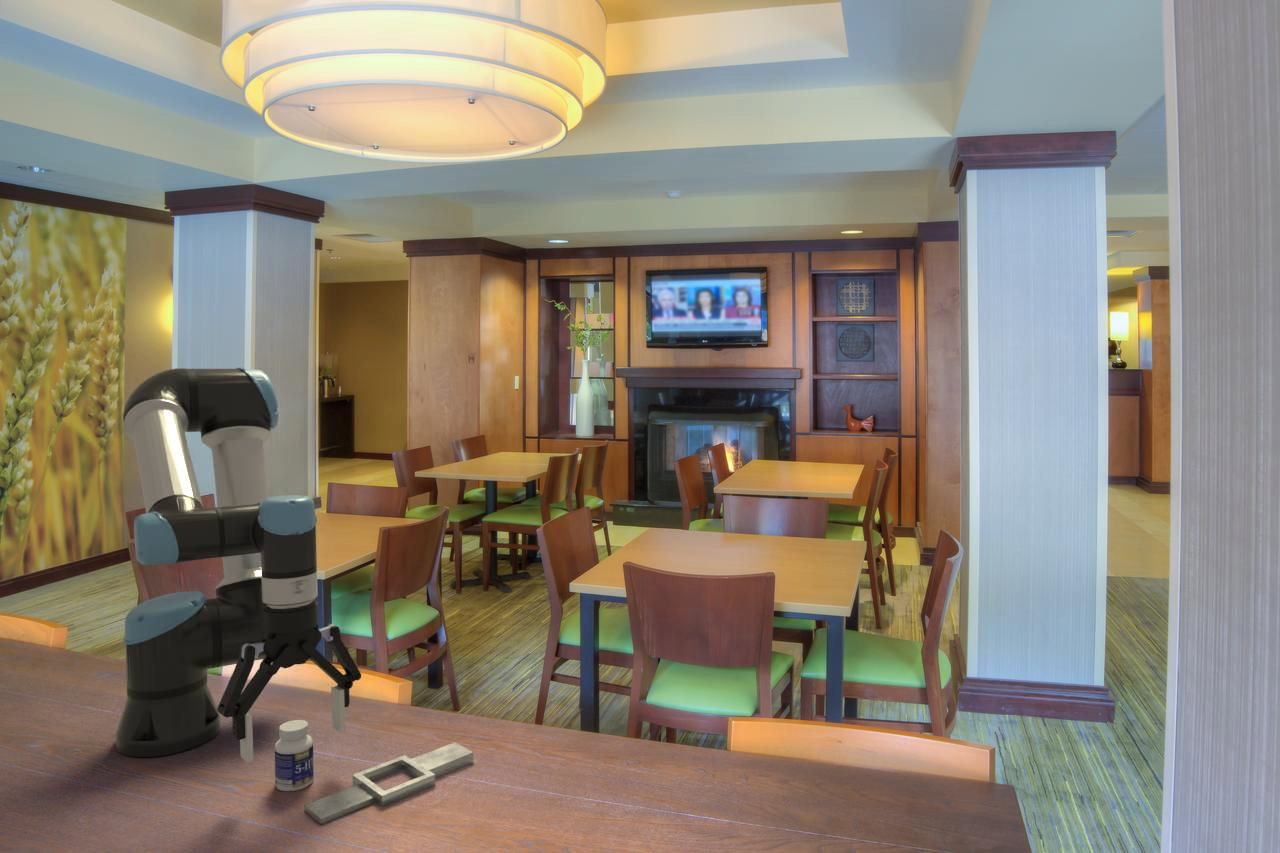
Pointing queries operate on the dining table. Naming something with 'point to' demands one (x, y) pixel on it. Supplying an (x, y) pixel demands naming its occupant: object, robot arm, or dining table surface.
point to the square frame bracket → (369, 793)
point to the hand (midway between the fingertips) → (294, 743)
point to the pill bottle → (294, 756)
